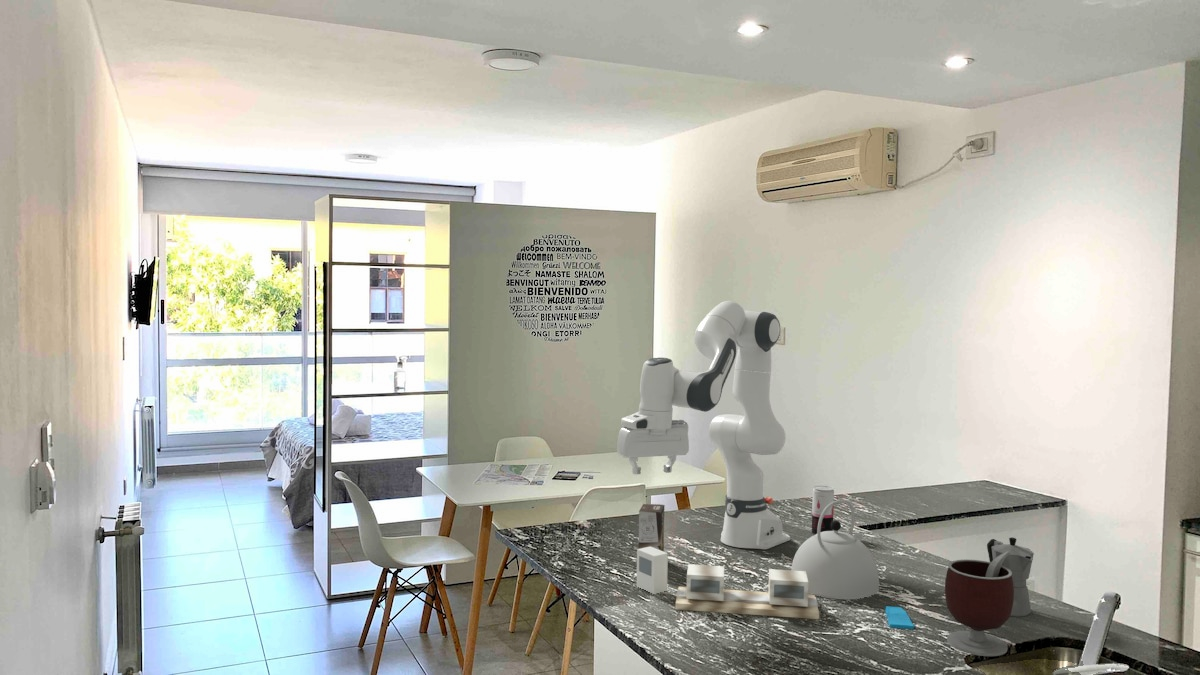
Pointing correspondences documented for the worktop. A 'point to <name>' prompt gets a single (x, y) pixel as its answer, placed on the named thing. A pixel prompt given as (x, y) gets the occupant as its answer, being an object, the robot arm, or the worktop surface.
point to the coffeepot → (1015, 571)
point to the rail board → (747, 594)
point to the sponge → (898, 618)
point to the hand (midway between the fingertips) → (652, 473)
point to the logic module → (652, 569)
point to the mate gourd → (979, 603)
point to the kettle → (837, 562)
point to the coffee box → (651, 526)
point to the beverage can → (822, 508)
